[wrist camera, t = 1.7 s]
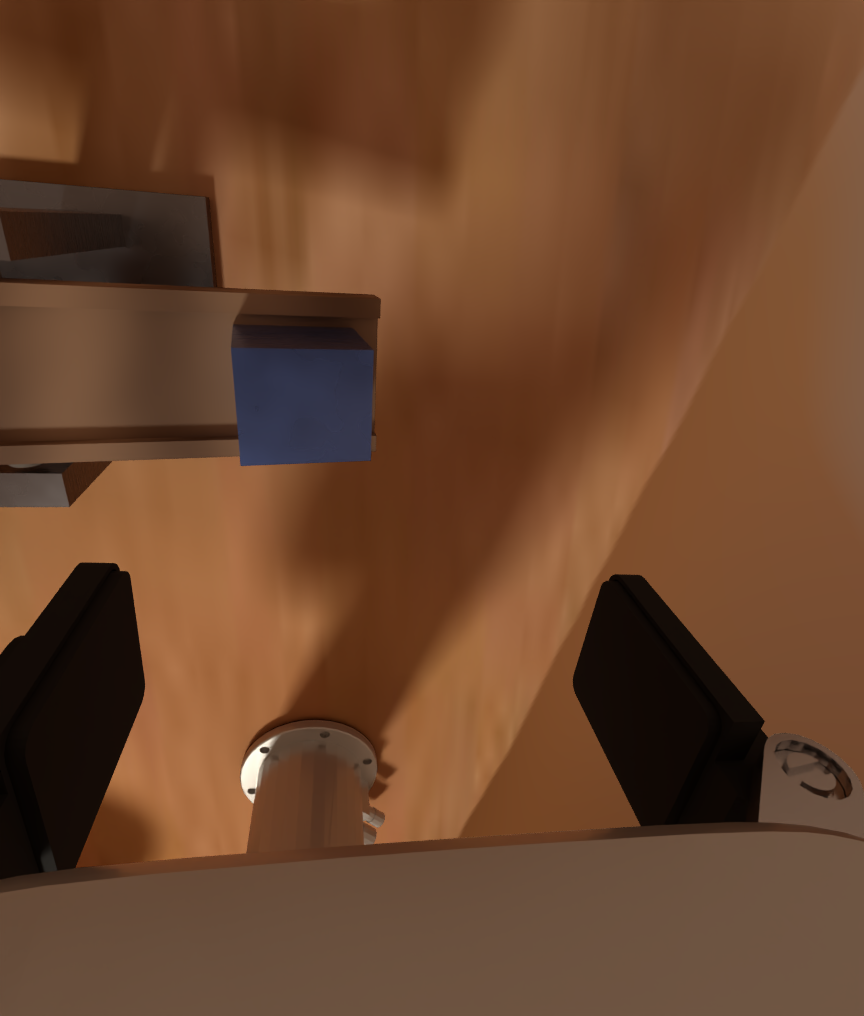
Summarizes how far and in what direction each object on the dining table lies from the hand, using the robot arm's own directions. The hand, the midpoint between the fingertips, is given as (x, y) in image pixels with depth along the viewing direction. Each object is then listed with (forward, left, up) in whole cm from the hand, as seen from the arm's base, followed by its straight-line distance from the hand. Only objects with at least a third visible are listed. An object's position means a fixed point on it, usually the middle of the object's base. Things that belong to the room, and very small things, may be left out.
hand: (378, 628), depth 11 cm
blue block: (+2, +1, -17) cm, 17 cm away
